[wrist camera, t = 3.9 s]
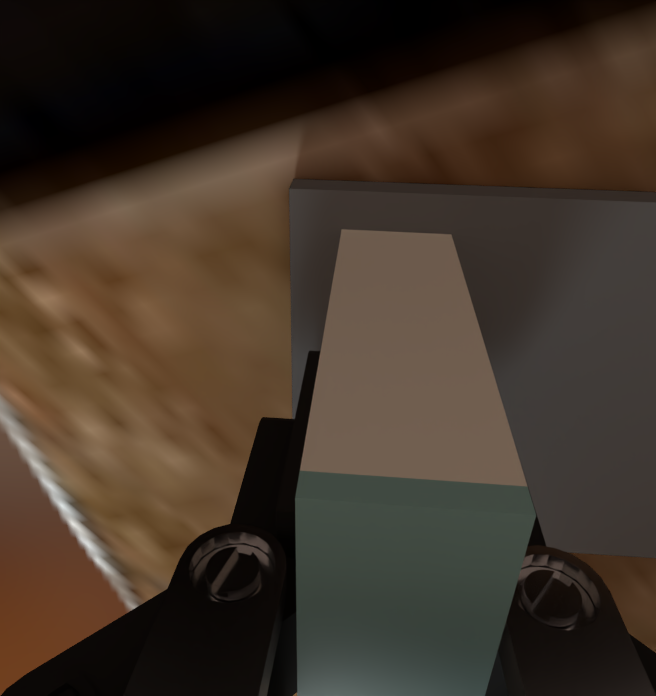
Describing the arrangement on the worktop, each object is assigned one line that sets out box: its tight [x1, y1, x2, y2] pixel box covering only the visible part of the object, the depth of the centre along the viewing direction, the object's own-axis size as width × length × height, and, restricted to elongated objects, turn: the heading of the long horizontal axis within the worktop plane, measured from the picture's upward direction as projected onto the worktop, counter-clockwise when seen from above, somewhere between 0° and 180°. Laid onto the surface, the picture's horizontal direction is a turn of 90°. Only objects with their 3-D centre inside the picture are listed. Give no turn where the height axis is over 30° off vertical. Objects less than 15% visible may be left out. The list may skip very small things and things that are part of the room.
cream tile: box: [295, 229, 536, 696], centre depth 9 cm, size 7×2×6 cm, turn 179°
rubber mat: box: [289, 179, 656, 558], centre depth 11 cm, size 8×10×1 cm
